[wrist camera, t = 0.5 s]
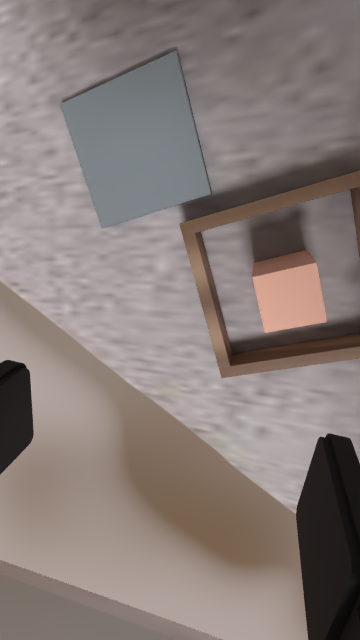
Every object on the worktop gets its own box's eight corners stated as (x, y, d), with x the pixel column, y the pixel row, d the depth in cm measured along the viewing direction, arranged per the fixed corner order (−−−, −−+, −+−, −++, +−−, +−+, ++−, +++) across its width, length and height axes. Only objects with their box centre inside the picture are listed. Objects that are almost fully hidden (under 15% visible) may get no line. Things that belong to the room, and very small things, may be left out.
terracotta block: (314, 298, 34) (326, 321, 27) (264, 308, 35) (264, 332, 29) (306, 249, 33) (316, 262, 26) (254, 262, 34) (252, 277, 28)
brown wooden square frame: (384, 340, 34) (395, 353, 31) (224, 365, 39) (221, 377, 36) (363, 169, 29) (373, 166, 27) (186, 221, 34) (179, 223, 31)
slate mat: (212, 194, 33) (210, 193, 32) (104, 227, 36) (101, 228, 36) (178, 54, 30) (176, 50, 29) (64, 106, 33) (59, 104, 32)
